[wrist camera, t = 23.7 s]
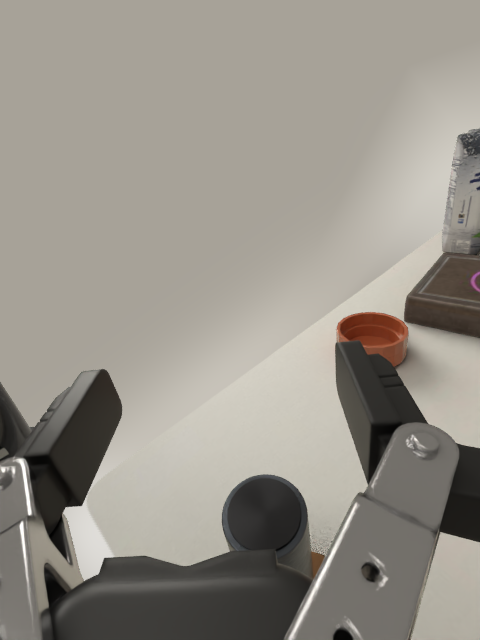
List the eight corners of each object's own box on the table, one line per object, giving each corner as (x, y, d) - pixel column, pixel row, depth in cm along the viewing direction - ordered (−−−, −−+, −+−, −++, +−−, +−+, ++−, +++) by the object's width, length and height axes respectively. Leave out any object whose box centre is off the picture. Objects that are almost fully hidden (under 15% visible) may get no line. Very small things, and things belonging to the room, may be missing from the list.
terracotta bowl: (333, 368, 51) (332, 344, 49) (341, 333, 59) (341, 310, 57) (406, 377, 47) (409, 350, 45) (404, 337, 55) (407, 313, 53)
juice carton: (436, 253, 82) (454, 128, 69) (450, 240, 88) (469, 122, 75) (479, 257, 76) (507, 121, 63) (491, 243, 82) (519, 116, 69)
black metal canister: (235, 618, 26) (206, 541, 21) (258, 544, 30) (239, 465, 25) (307, 650, 24) (295, 573, 18) (320, 565, 28) (315, 483, 23)
